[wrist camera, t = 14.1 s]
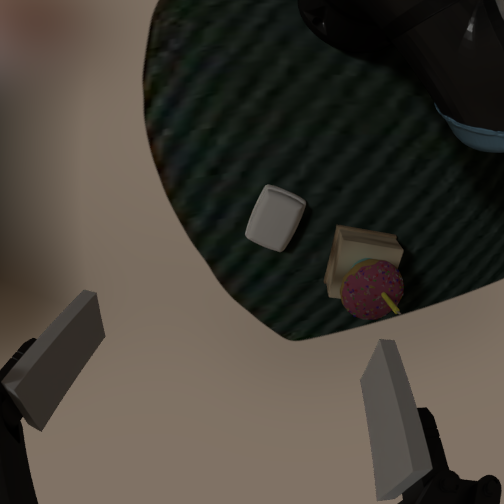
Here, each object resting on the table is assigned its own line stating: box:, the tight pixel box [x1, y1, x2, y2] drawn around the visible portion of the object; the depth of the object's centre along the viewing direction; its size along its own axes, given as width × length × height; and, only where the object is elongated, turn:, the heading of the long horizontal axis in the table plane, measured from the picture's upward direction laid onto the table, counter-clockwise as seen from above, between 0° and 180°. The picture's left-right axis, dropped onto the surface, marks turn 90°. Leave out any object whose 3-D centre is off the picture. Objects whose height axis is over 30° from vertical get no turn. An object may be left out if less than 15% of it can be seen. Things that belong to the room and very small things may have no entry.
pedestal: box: [324, 225, 404, 299], centre depth 44 cm, size 10×10×5 cm
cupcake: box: [340, 258, 404, 320], centre depth 36 cm, size 9×8×12 cm
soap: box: [245, 185, 306, 252], centre depth 44 cm, size 9×7×3 cm
